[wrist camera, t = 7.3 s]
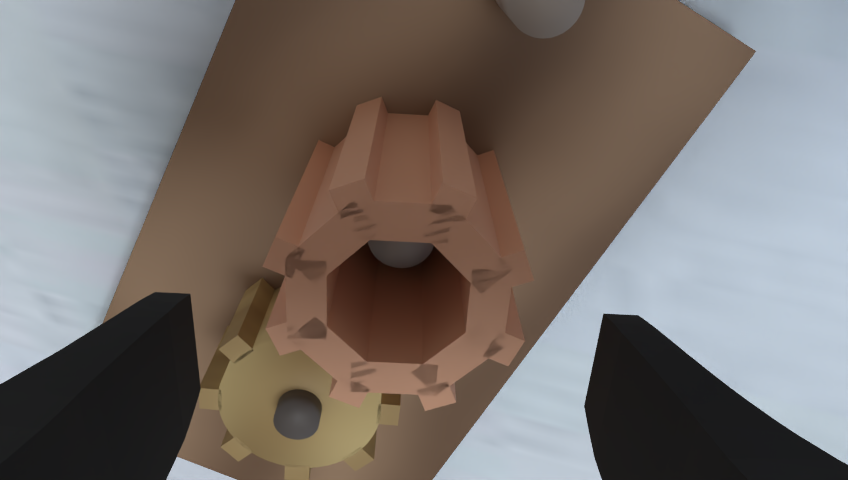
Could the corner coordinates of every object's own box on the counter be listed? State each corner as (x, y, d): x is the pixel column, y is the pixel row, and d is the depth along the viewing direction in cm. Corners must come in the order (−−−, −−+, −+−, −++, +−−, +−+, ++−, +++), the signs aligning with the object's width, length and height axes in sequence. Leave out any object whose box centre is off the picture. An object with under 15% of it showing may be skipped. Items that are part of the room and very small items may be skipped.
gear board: (731, 41, 18) (834, 84, 14) (390, 505, 26) (383, 632, 21) (336, -215, 16) (302, -267, 11) (85, 384, 23) (4, 499, 19)
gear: (509, 103, 18) (548, 188, 12) (488, 278, 20) (513, 414, 14) (307, 92, 17) (257, 172, 12) (310, 269, 20) (269, 404, 14)
